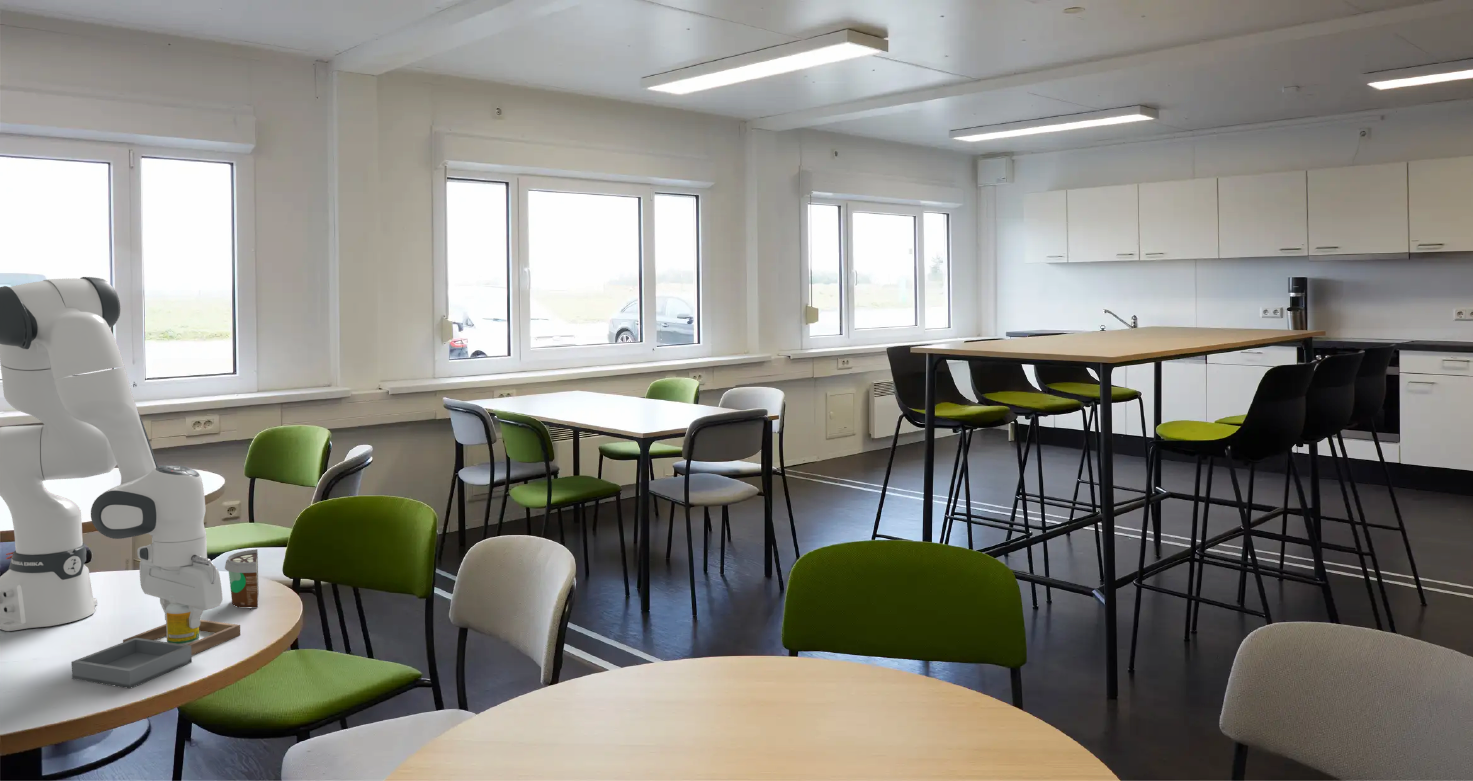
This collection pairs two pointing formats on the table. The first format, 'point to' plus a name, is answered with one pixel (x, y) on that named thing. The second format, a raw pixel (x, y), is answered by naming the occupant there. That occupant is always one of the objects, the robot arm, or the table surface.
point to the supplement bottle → (179, 624)
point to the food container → (243, 578)
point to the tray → (131, 662)
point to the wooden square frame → (220, 629)
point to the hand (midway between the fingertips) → (182, 624)
